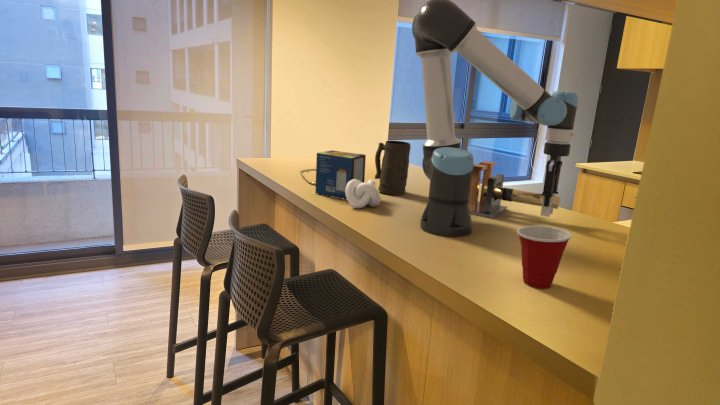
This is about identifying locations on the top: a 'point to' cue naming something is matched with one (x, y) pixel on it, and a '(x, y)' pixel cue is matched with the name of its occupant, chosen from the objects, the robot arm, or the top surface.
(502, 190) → the tube
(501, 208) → the wooden stand
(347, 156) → the protein box
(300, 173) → the beaded necklace
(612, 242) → the top surface
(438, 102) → the robot arm
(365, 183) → the white knot sculpture
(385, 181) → the beer stein
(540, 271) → the plastic cup
